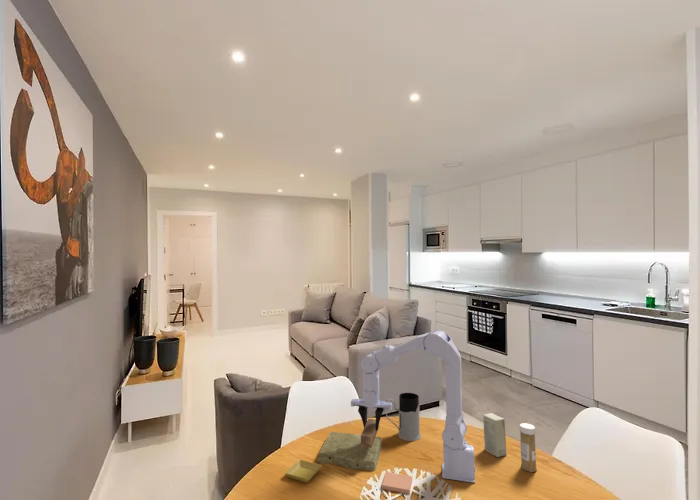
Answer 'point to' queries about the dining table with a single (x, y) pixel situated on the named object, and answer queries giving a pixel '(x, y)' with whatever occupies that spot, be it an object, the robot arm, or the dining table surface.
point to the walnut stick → (368, 433)
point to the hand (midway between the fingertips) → (371, 428)
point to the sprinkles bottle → (528, 447)
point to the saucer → (303, 470)
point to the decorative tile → (350, 451)
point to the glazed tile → (397, 482)
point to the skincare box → (494, 434)
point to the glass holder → (408, 417)
